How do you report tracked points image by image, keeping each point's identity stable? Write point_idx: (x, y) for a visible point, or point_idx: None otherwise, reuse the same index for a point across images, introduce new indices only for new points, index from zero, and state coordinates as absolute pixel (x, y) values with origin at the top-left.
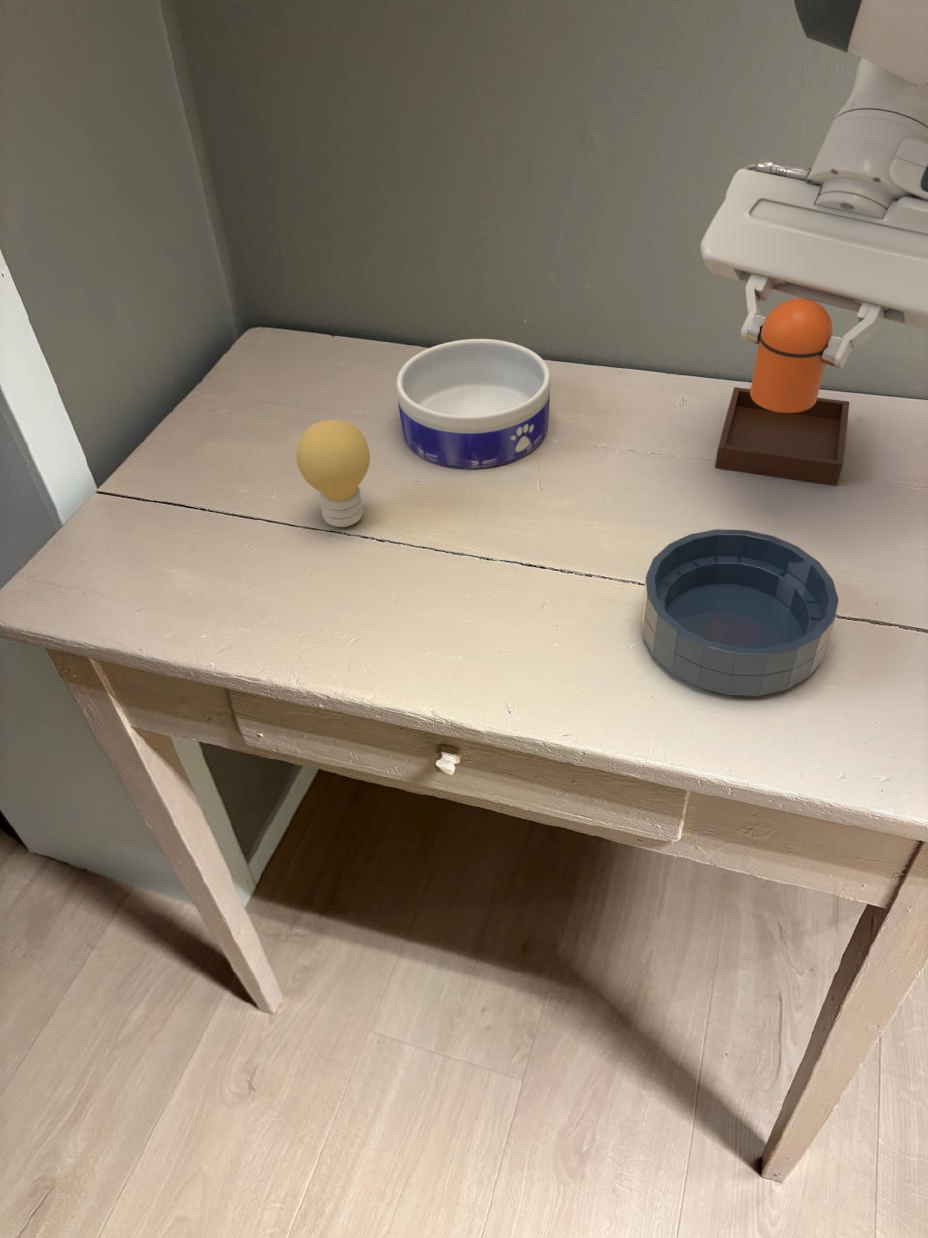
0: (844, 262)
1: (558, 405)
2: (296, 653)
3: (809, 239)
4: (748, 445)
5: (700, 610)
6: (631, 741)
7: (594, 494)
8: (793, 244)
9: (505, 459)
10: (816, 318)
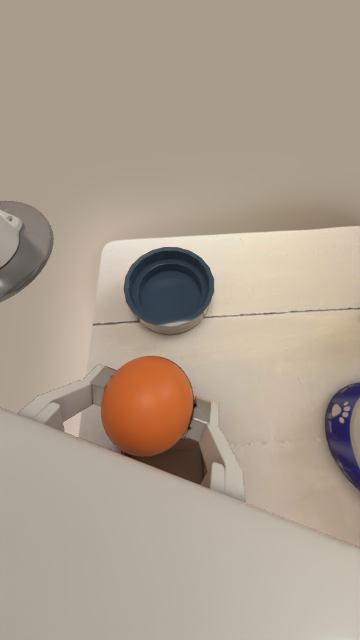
0: (35, 509)
1: (343, 497)
2: (330, 239)
3: (117, 636)
4: (187, 471)
5: (186, 302)
6: (195, 240)
7: (266, 382)
8: (168, 602)
9: (336, 397)
10: (119, 381)
